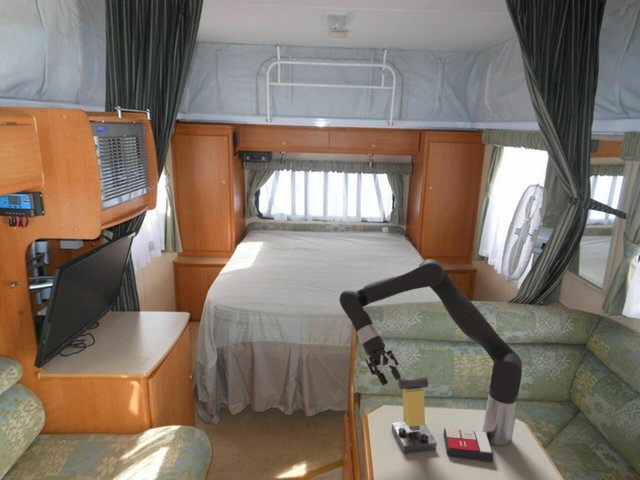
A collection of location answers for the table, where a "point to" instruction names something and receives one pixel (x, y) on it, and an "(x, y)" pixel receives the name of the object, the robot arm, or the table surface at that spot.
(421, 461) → the table surface
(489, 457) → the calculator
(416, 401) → the yellow toy mallet
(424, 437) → the base
